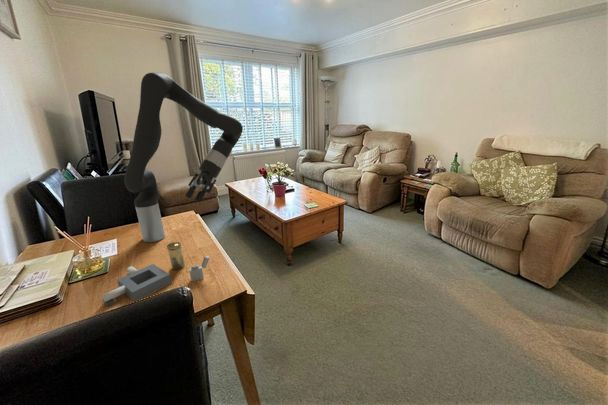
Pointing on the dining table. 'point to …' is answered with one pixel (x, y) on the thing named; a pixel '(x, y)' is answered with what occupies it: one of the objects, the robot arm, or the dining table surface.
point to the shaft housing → (135, 277)
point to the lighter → (198, 270)
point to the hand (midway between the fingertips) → (192, 199)
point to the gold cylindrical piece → (176, 255)
